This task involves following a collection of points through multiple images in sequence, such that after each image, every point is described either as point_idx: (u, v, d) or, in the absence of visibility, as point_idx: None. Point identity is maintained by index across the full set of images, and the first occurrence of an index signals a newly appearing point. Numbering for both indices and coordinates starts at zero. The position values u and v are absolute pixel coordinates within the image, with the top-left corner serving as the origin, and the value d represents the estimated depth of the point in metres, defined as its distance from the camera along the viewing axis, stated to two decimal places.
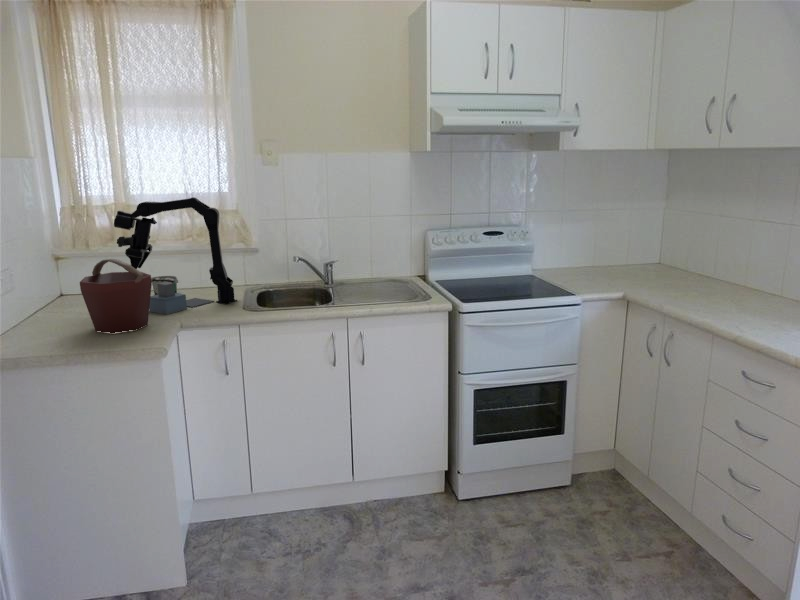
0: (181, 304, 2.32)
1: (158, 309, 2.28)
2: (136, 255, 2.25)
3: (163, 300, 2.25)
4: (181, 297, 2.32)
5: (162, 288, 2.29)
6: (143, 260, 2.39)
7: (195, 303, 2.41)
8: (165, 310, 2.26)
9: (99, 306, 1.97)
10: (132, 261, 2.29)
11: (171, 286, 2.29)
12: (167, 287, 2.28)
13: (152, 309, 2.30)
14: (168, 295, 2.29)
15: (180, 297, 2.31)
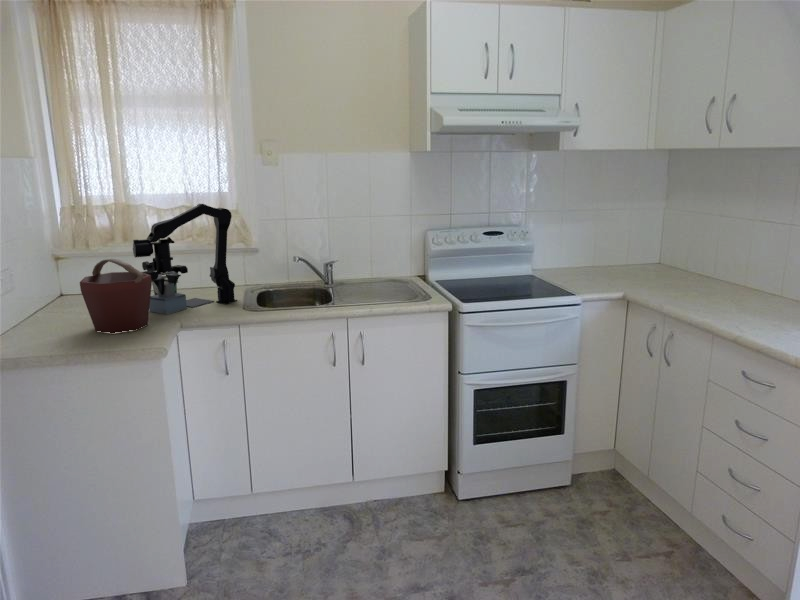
0: (181, 304, 2.32)
1: (158, 309, 2.28)
2: None
3: (163, 300, 2.25)
4: (181, 297, 2.32)
5: None
6: None
7: (195, 303, 2.41)
8: (165, 310, 2.26)
9: (99, 306, 1.97)
10: (157, 284, 2.27)
11: (170, 286, 2.29)
12: (167, 287, 2.28)
13: (152, 309, 2.30)
14: (168, 295, 2.29)
15: (180, 297, 2.31)
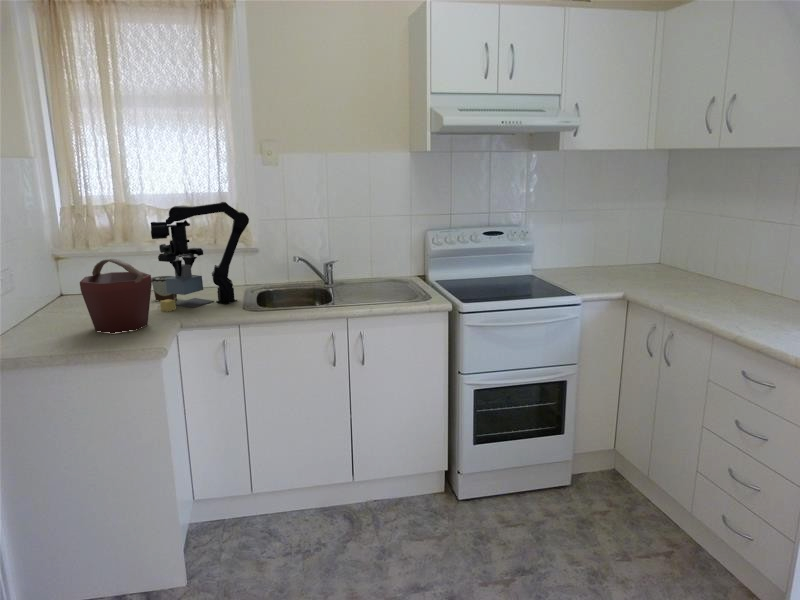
0: (197, 285, 2.38)
1: (176, 290, 2.34)
2: (164, 260, 2.27)
3: (181, 281, 2.31)
4: (198, 278, 2.38)
5: None
6: None
7: (195, 303, 2.41)
8: (183, 291, 2.32)
9: (99, 306, 1.97)
10: (174, 266, 2.34)
11: (187, 267, 2.36)
12: (184, 269, 2.34)
13: (169, 291, 2.36)
14: (185, 276, 2.35)
15: (197, 278, 2.37)
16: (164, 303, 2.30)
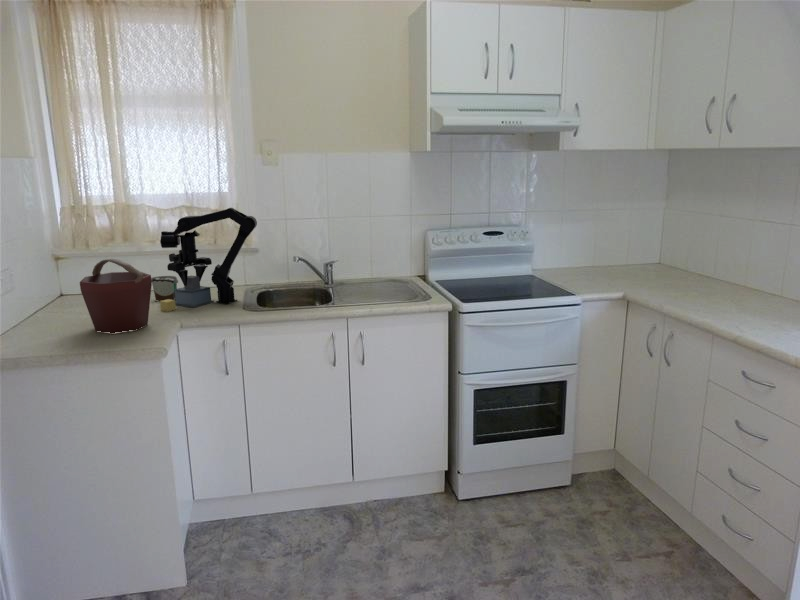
0: (205, 296, 2.43)
1: (184, 301, 2.39)
2: (173, 269, 2.31)
3: (189, 292, 2.36)
4: (206, 290, 2.42)
5: (188, 281, 2.40)
6: (200, 274, 2.43)
7: None
8: (191, 302, 2.37)
9: (99, 306, 1.97)
10: (180, 275, 2.37)
11: (196, 279, 2.40)
12: (193, 280, 2.39)
13: (178, 302, 2.41)
14: (194, 288, 2.40)
15: (205, 290, 2.42)
16: (164, 303, 2.30)
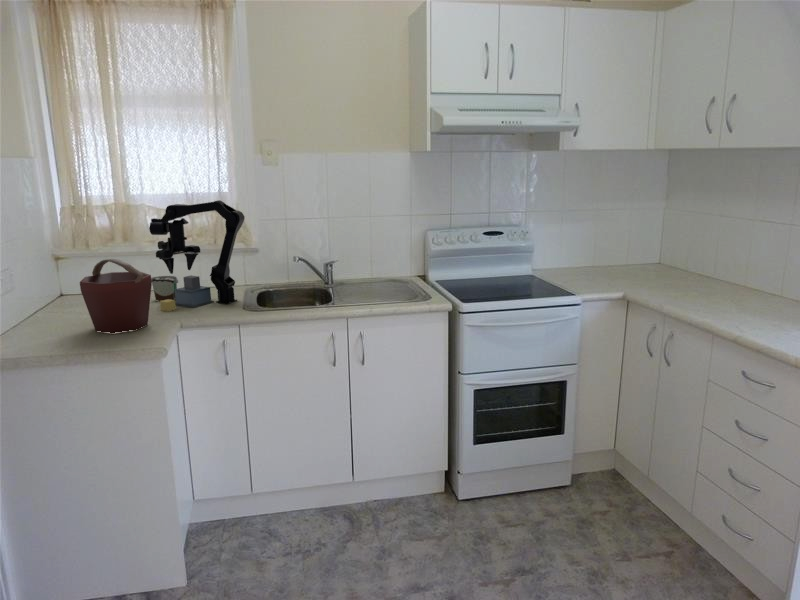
0: (205, 296, 2.43)
1: (184, 301, 2.39)
2: (162, 256, 2.33)
3: (189, 292, 2.36)
4: (206, 290, 2.42)
5: (188, 281, 2.40)
6: (190, 262, 2.46)
7: None
8: (191, 302, 2.37)
9: (99, 306, 1.97)
10: (166, 263, 2.37)
11: (196, 279, 2.40)
12: (193, 280, 2.39)
13: (178, 302, 2.41)
14: (194, 288, 2.40)
15: (205, 290, 2.42)
16: (164, 303, 2.30)
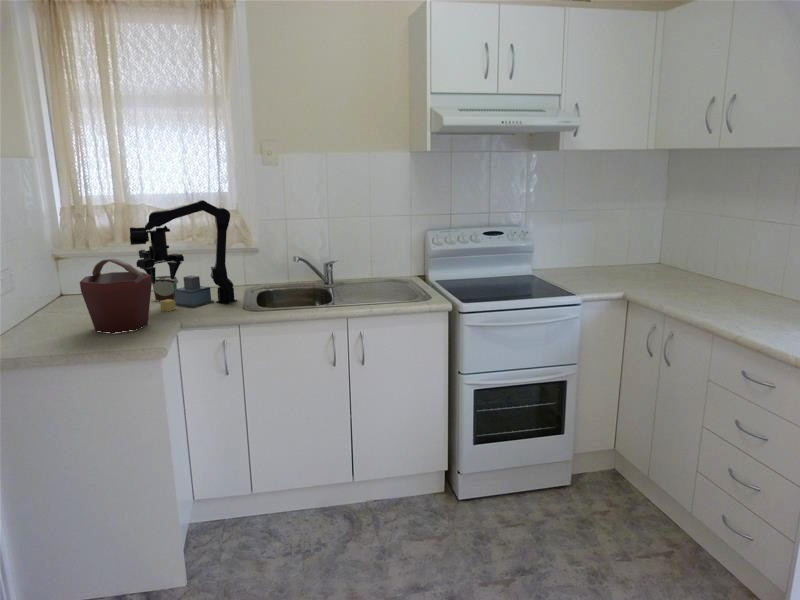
0: (205, 296, 2.43)
1: (184, 301, 2.39)
2: (143, 266, 2.23)
3: (189, 292, 2.36)
4: (206, 290, 2.42)
5: (188, 281, 2.40)
6: (173, 271, 2.36)
7: None
8: (191, 302, 2.37)
9: (99, 306, 1.97)
10: (148, 273, 2.28)
11: (196, 279, 2.40)
12: (193, 280, 2.39)
13: (178, 302, 2.41)
14: (194, 288, 2.40)
15: (205, 290, 2.42)
16: (164, 303, 2.30)
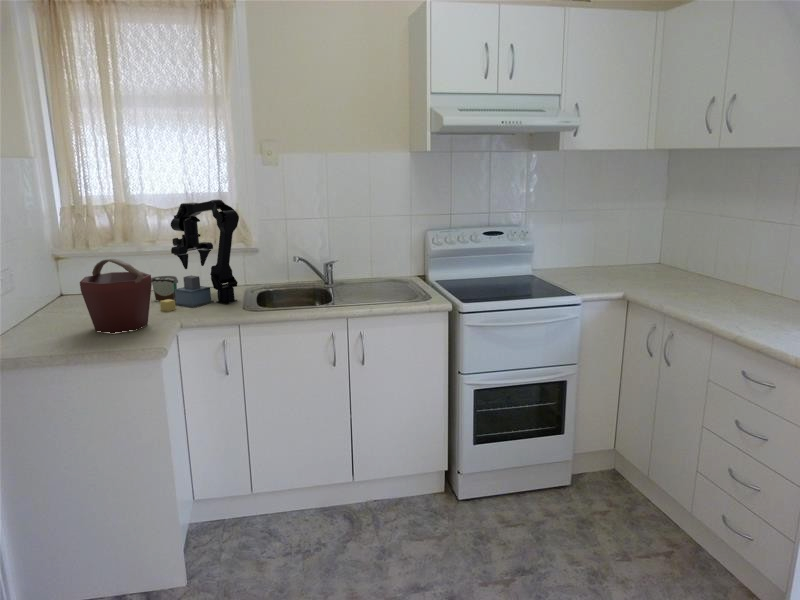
0: (205, 296, 2.43)
1: (184, 301, 2.39)
2: (177, 253, 2.43)
3: (189, 292, 2.36)
4: (206, 290, 2.42)
5: (188, 281, 2.40)
6: (203, 258, 2.56)
7: None
8: (191, 302, 2.37)
9: (99, 306, 1.97)
10: (181, 259, 2.48)
11: (196, 279, 2.40)
12: (193, 280, 2.39)
13: (178, 302, 2.41)
14: (194, 288, 2.40)
15: (205, 290, 2.42)
16: (164, 303, 2.30)
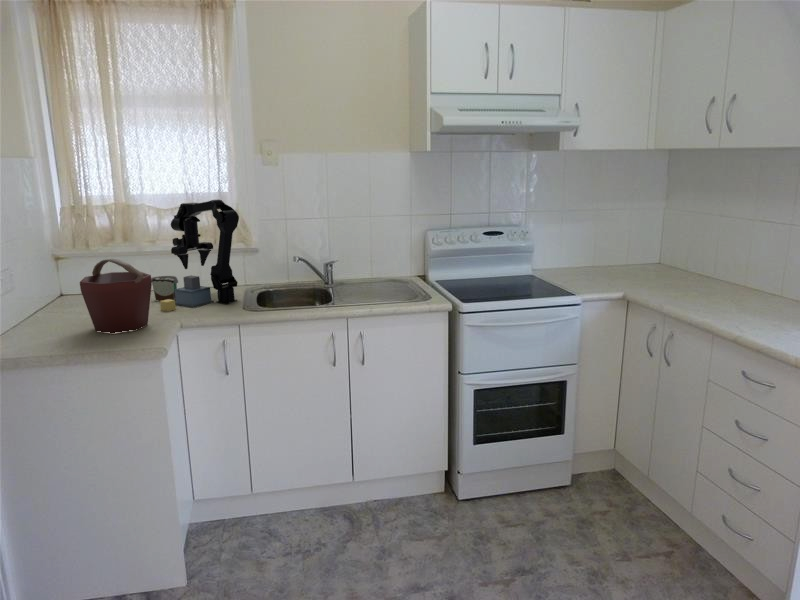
0: (205, 296, 2.43)
1: (184, 301, 2.39)
2: (177, 253, 2.43)
3: (189, 292, 2.36)
4: (206, 290, 2.42)
5: (188, 281, 2.40)
6: (204, 258, 2.56)
7: None
8: (191, 302, 2.37)
9: (99, 306, 1.97)
10: (181, 259, 2.48)
11: (196, 279, 2.40)
12: (193, 280, 2.39)
13: (178, 302, 2.41)
14: (194, 288, 2.40)
15: (205, 290, 2.42)
16: (164, 303, 2.30)
